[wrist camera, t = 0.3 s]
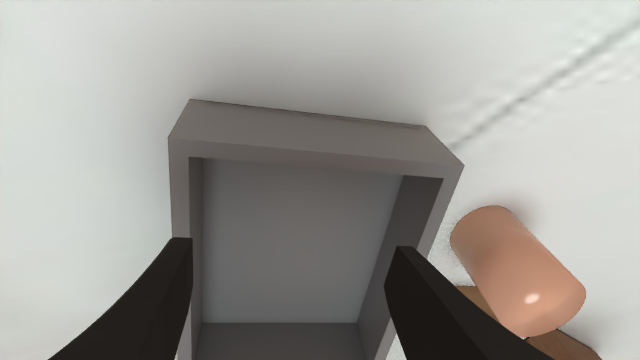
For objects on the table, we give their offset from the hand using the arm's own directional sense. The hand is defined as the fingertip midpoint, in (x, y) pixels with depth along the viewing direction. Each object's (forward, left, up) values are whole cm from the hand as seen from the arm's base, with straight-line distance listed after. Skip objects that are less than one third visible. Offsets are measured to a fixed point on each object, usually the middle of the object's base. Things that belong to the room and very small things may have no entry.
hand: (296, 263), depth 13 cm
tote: (-7, -2, -10) cm, 12 cm away
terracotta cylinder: (-6, -16, -10) cm, 19 cm away
